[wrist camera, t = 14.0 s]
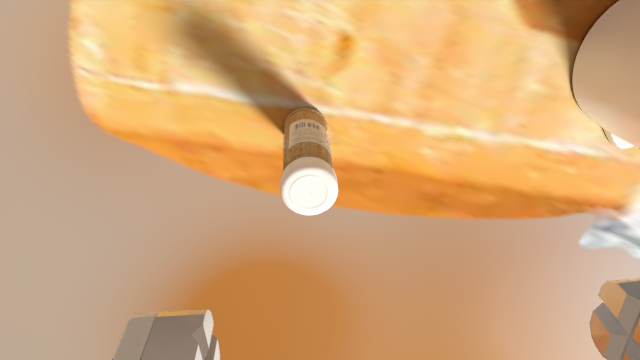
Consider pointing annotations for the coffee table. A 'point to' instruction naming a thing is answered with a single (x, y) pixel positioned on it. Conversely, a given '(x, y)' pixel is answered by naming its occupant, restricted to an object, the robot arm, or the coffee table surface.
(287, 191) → the sprinkles bottle
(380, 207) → the coffee table surface
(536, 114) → the coffee table surface
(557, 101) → the coffee table surface
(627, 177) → the coffee table surface
